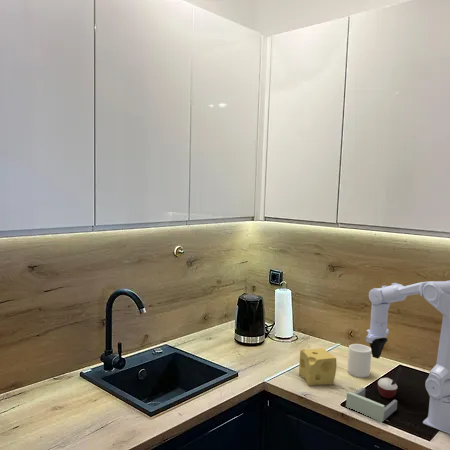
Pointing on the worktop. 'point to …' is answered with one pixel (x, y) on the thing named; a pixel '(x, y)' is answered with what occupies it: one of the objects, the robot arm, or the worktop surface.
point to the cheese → (317, 366)
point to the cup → (359, 360)
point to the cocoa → (388, 386)
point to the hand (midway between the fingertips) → (376, 357)
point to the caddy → (369, 406)
